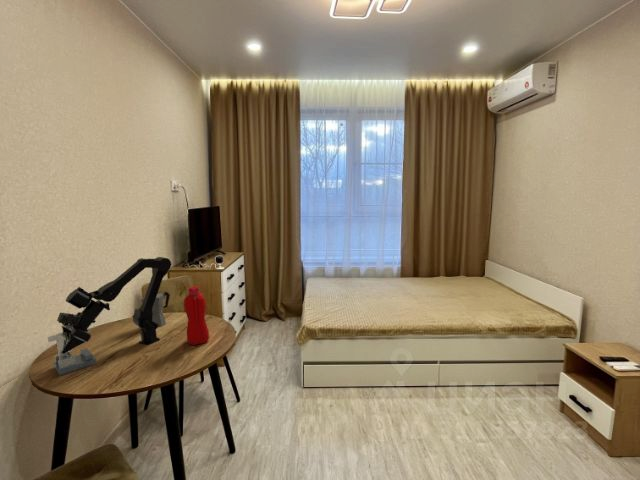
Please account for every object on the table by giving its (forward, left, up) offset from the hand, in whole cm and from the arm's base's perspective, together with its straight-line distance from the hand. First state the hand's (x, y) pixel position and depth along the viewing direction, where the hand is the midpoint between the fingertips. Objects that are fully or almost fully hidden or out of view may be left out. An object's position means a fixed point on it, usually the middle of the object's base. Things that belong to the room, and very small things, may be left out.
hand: (59, 349), depth 133 cm
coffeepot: (+6, -48, -8) cm, 49 cm away
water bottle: (-31, -39, -8) cm, 51 cm away
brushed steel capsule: (0, 0, -6) cm, 6 cm away
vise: (-1, -4, -8) cm, 9 cm away
